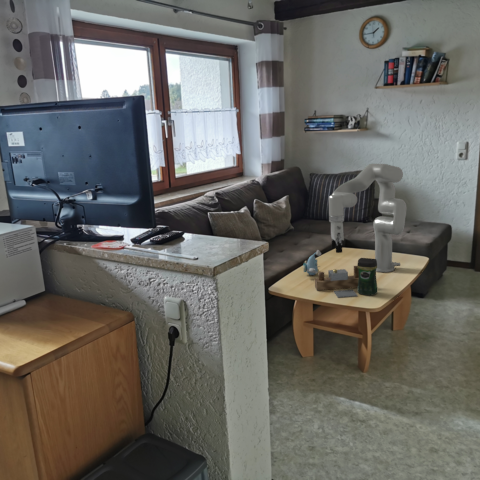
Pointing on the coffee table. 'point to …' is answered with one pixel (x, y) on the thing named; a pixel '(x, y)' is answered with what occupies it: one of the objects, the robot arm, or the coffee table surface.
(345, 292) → the mat
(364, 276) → the coffee jar
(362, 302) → the coffee table surface
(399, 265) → the robot arm
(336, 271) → the lever cap
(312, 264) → the toy figure
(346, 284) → the brown long u-shaped block
